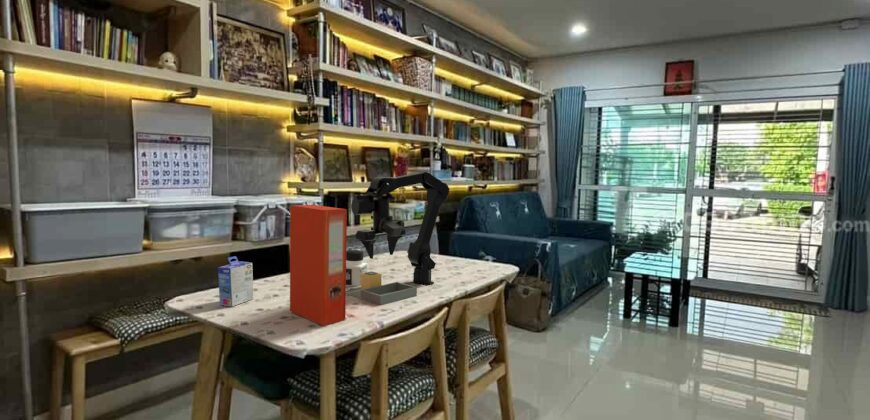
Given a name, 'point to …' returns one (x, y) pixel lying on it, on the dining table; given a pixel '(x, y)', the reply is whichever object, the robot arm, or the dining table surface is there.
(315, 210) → the file binder
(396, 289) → the case
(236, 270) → the ink cartridge box
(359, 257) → the container
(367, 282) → the block
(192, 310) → the dining table surface
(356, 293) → the lid
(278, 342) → the dining table surface
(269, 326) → the dining table surface
